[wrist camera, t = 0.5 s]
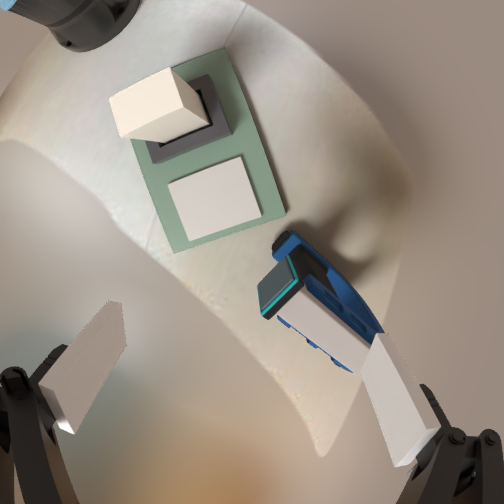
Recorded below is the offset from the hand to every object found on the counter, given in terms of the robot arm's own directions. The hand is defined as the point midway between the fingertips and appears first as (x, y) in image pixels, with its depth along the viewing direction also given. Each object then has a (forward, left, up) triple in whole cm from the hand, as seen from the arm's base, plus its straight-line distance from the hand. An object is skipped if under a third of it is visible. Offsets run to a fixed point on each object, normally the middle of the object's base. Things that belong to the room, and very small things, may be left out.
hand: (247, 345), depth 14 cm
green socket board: (-12, -4, -26) cm, 29 cm away
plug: (-16, -4, -25) cm, 30 cm away
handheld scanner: (+8, +5, -26) cm, 28 cm away
